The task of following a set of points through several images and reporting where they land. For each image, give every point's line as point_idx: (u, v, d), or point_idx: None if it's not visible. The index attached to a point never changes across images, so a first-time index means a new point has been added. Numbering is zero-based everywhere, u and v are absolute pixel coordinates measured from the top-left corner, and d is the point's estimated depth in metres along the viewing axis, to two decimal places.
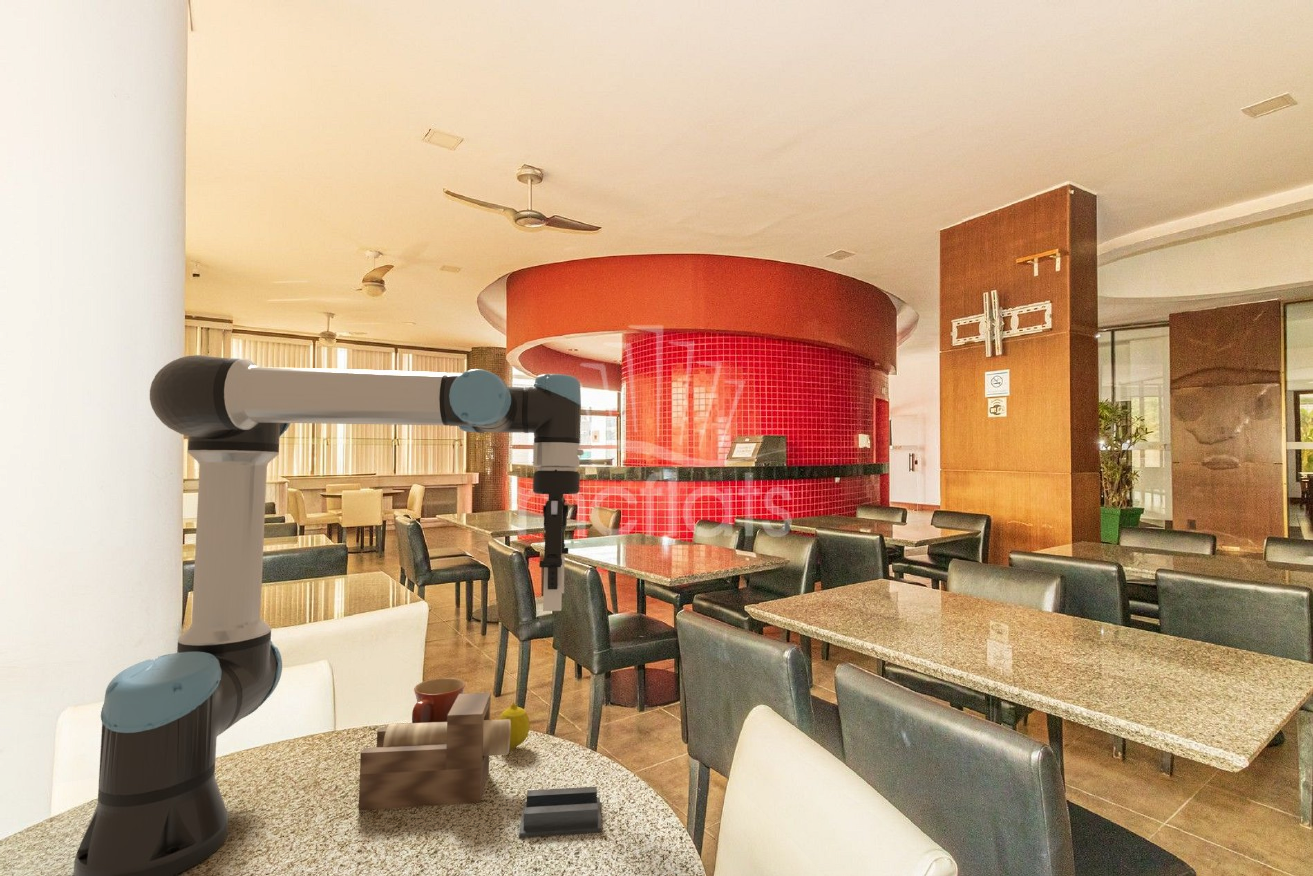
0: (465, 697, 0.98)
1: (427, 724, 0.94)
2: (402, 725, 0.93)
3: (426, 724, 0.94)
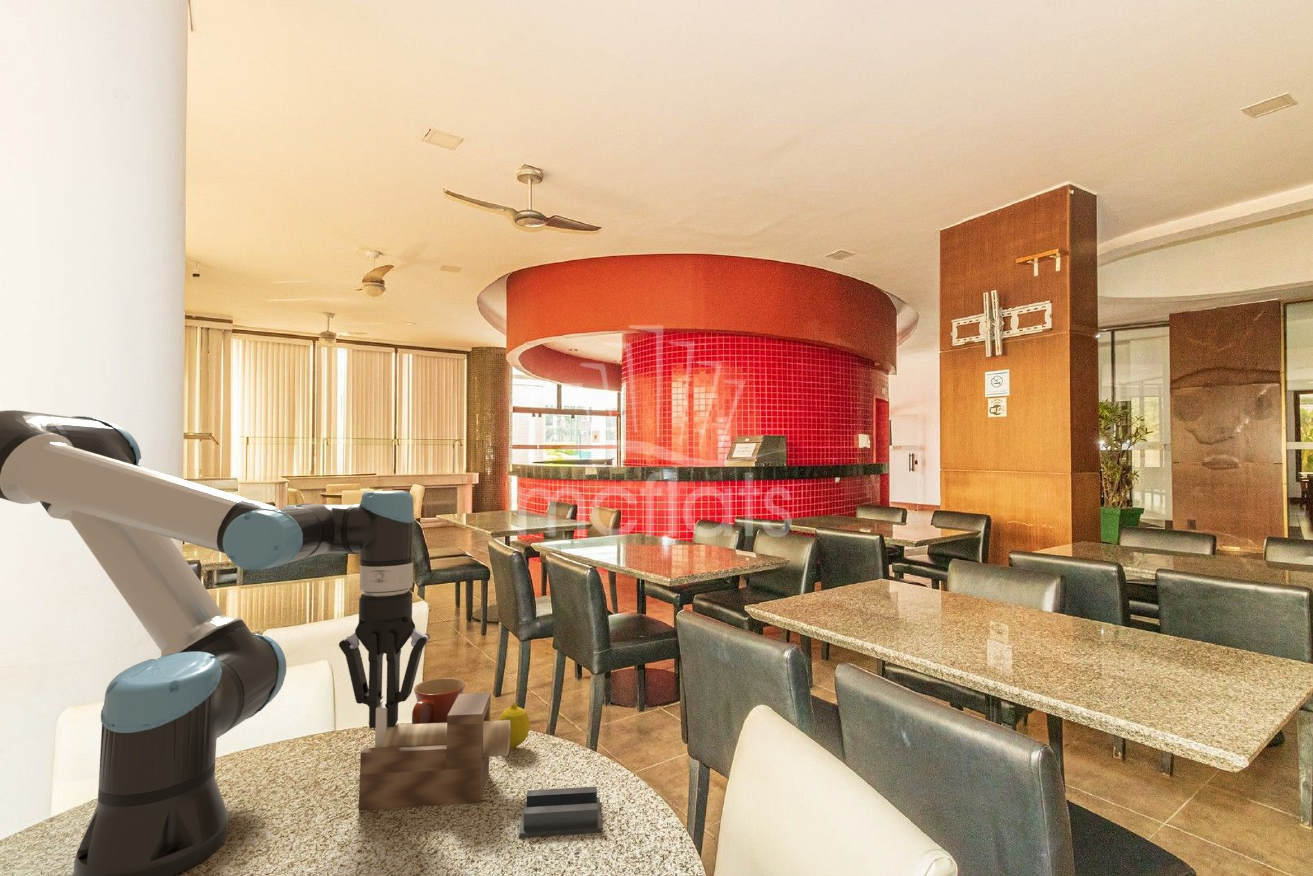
0: (465, 697, 0.98)
1: (425, 726, 0.93)
2: (401, 727, 0.93)
3: (425, 726, 0.93)
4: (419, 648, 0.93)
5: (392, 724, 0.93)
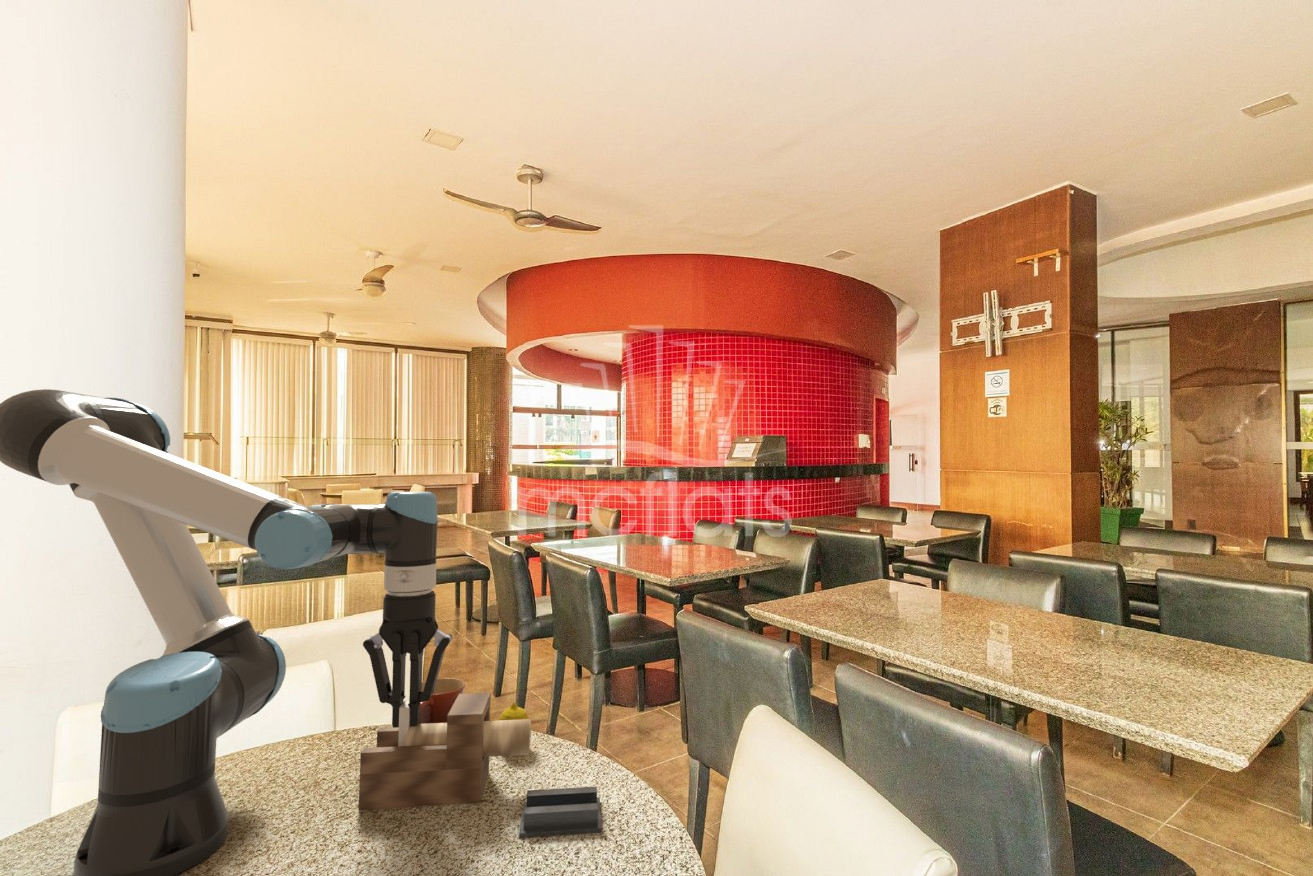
0: (465, 697, 0.98)
1: None
2: (422, 727, 0.93)
3: (446, 726, 0.93)
4: (442, 648, 0.94)
5: (414, 724, 0.93)
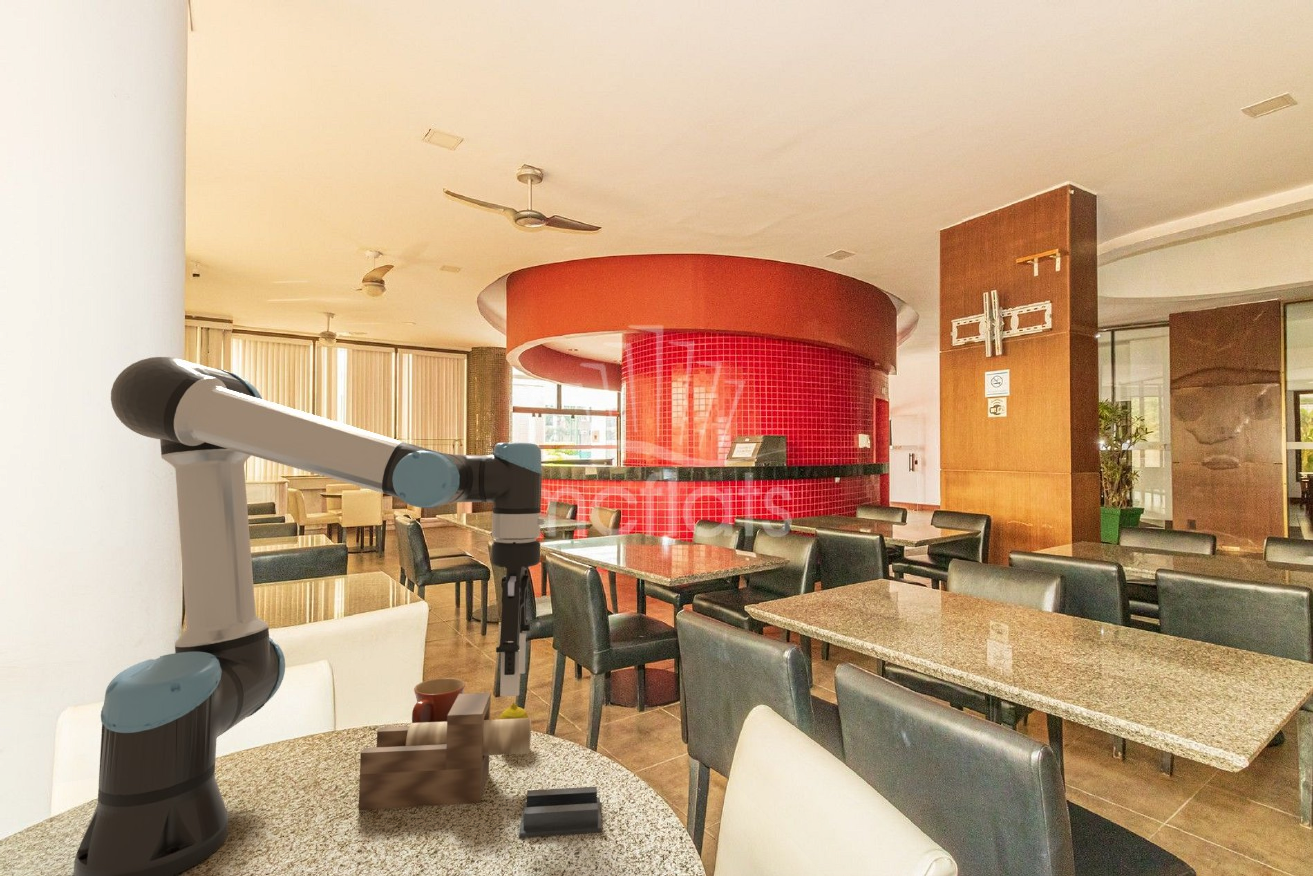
0: (465, 697, 0.98)
1: None
2: (424, 724, 0.94)
3: None
4: None
5: None
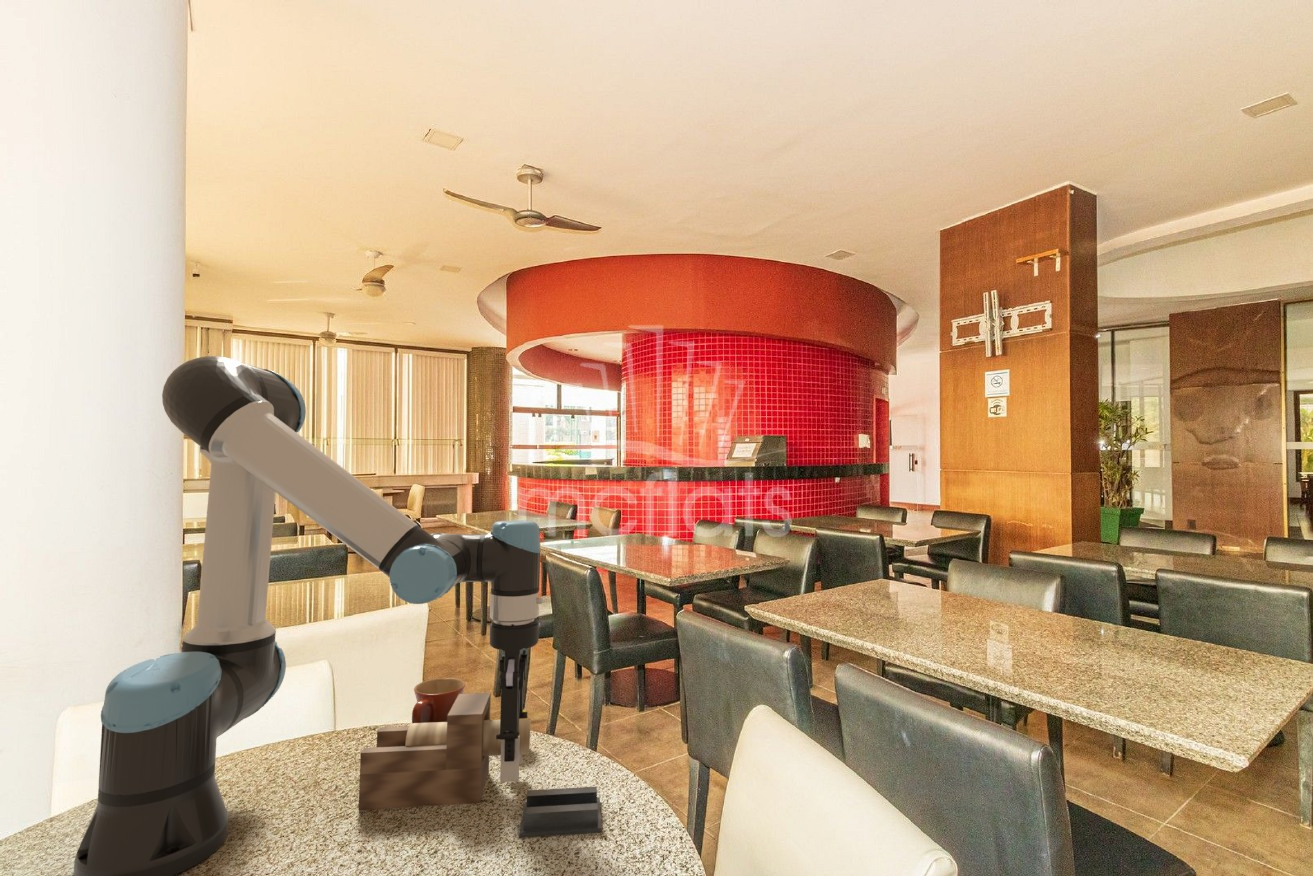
0: (465, 697, 0.98)
1: None
2: (423, 725, 0.93)
3: None
4: None
5: None
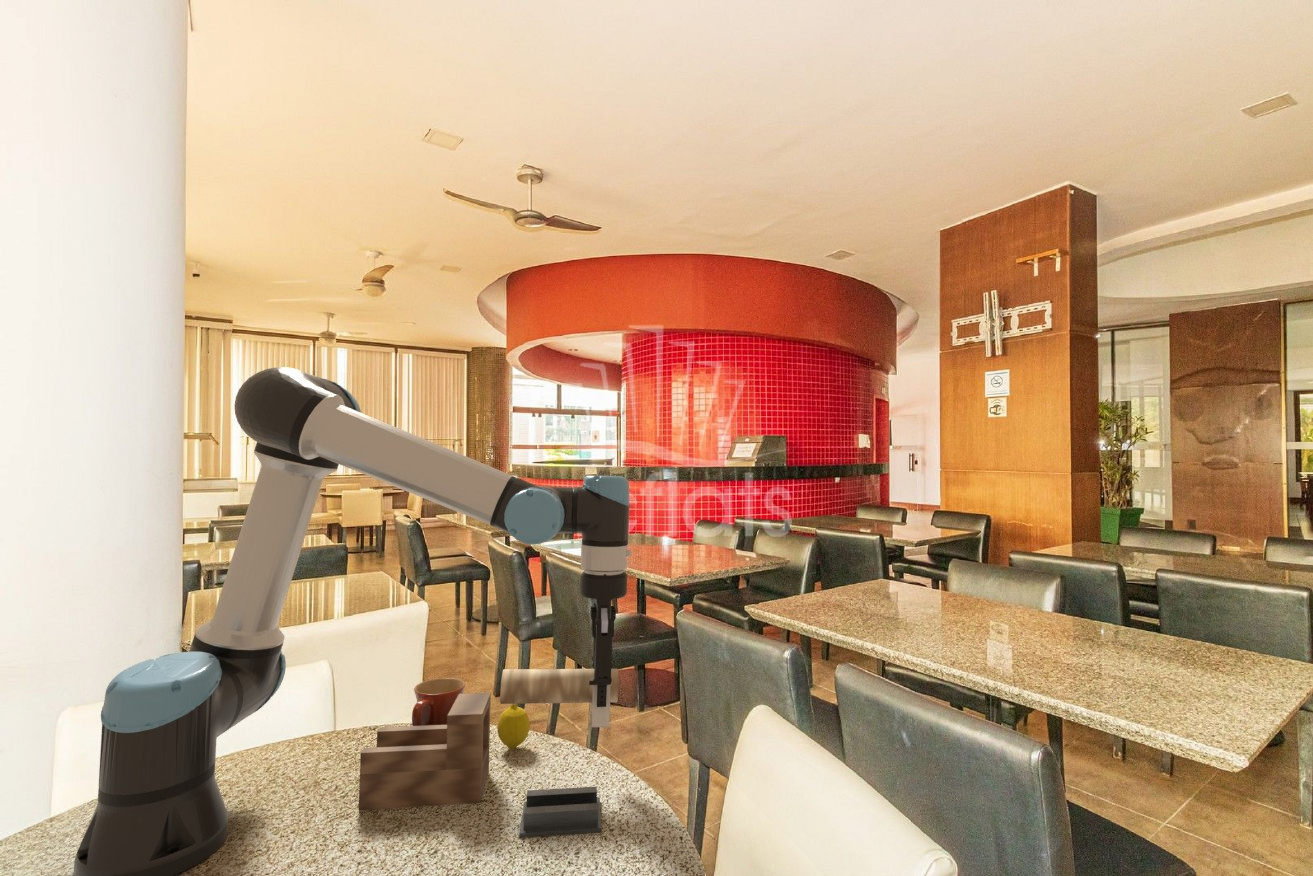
0: (465, 697, 0.98)
1: (539, 671, 0.96)
2: (516, 671, 0.96)
3: (539, 671, 0.96)
4: None
5: None
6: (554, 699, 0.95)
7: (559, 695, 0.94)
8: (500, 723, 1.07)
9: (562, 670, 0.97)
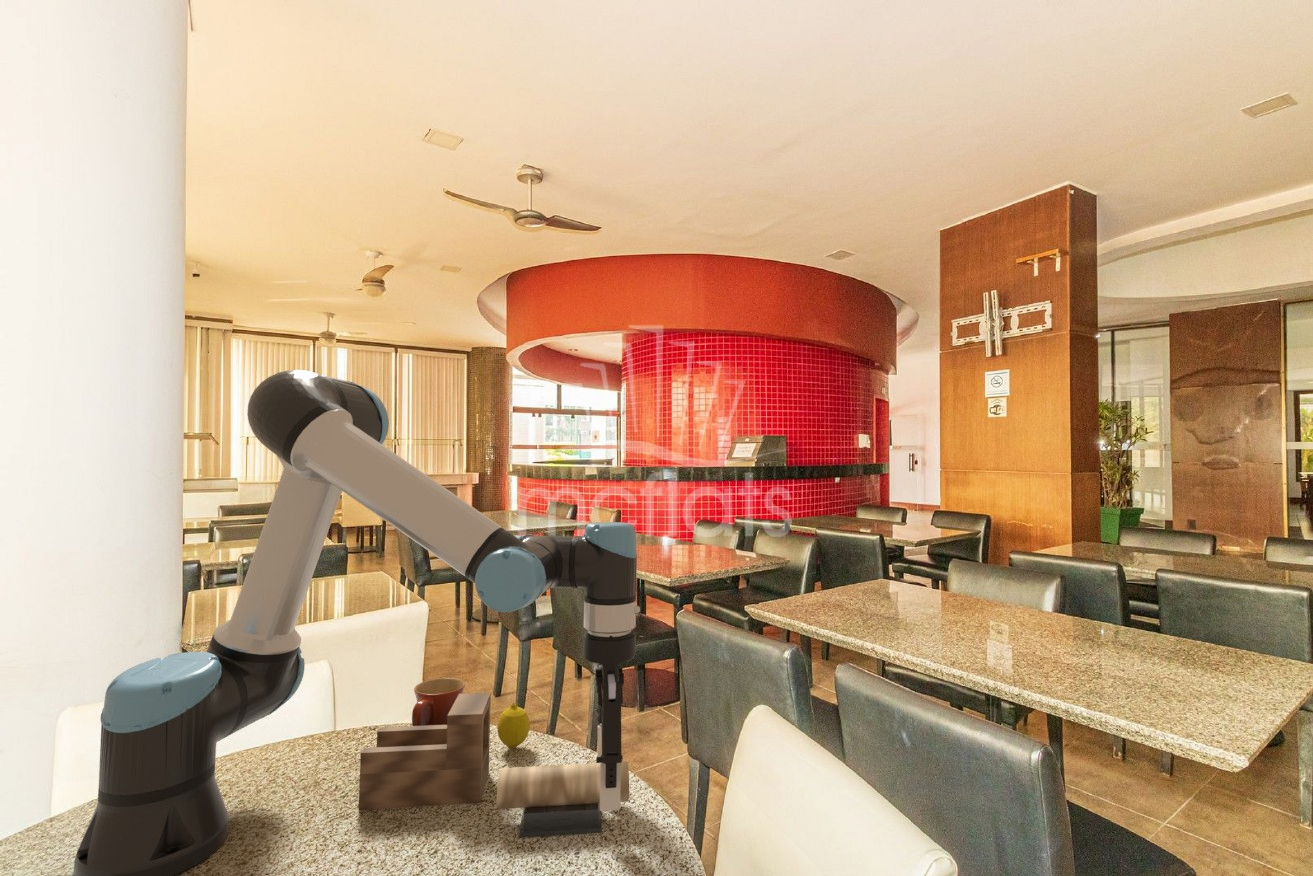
0: (465, 697, 0.98)
1: (540, 771, 0.86)
2: (514, 772, 0.85)
3: (539, 771, 0.86)
4: None
5: None
6: (557, 803, 0.84)
7: (562, 799, 0.84)
8: (500, 723, 1.07)
9: (565, 768, 0.86)
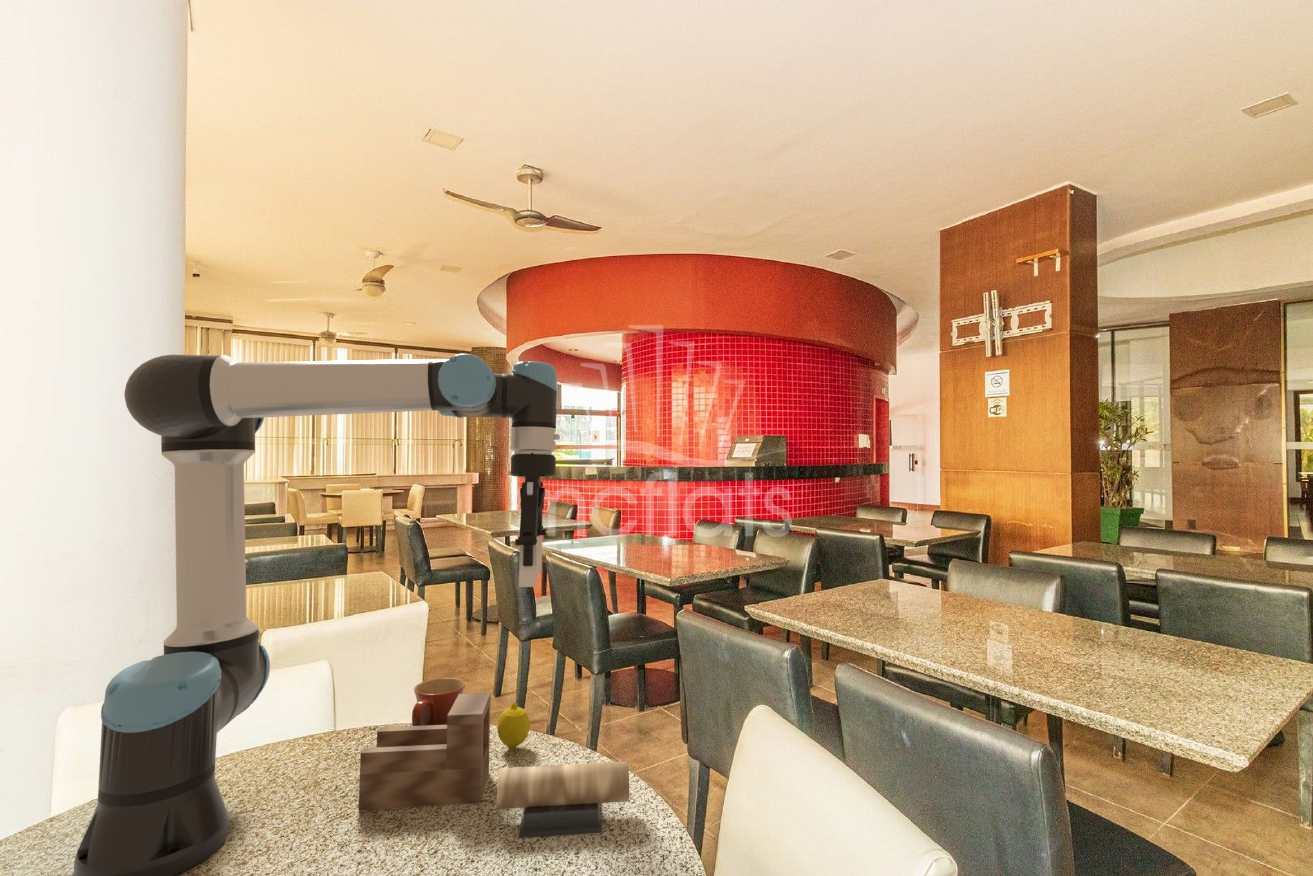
0: (465, 697, 0.98)
1: (540, 771, 0.86)
2: (514, 772, 0.85)
3: (539, 771, 0.86)
4: None
5: None
6: (557, 803, 0.84)
7: (562, 799, 0.84)
8: (500, 723, 1.07)
9: (565, 768, 0.86)
